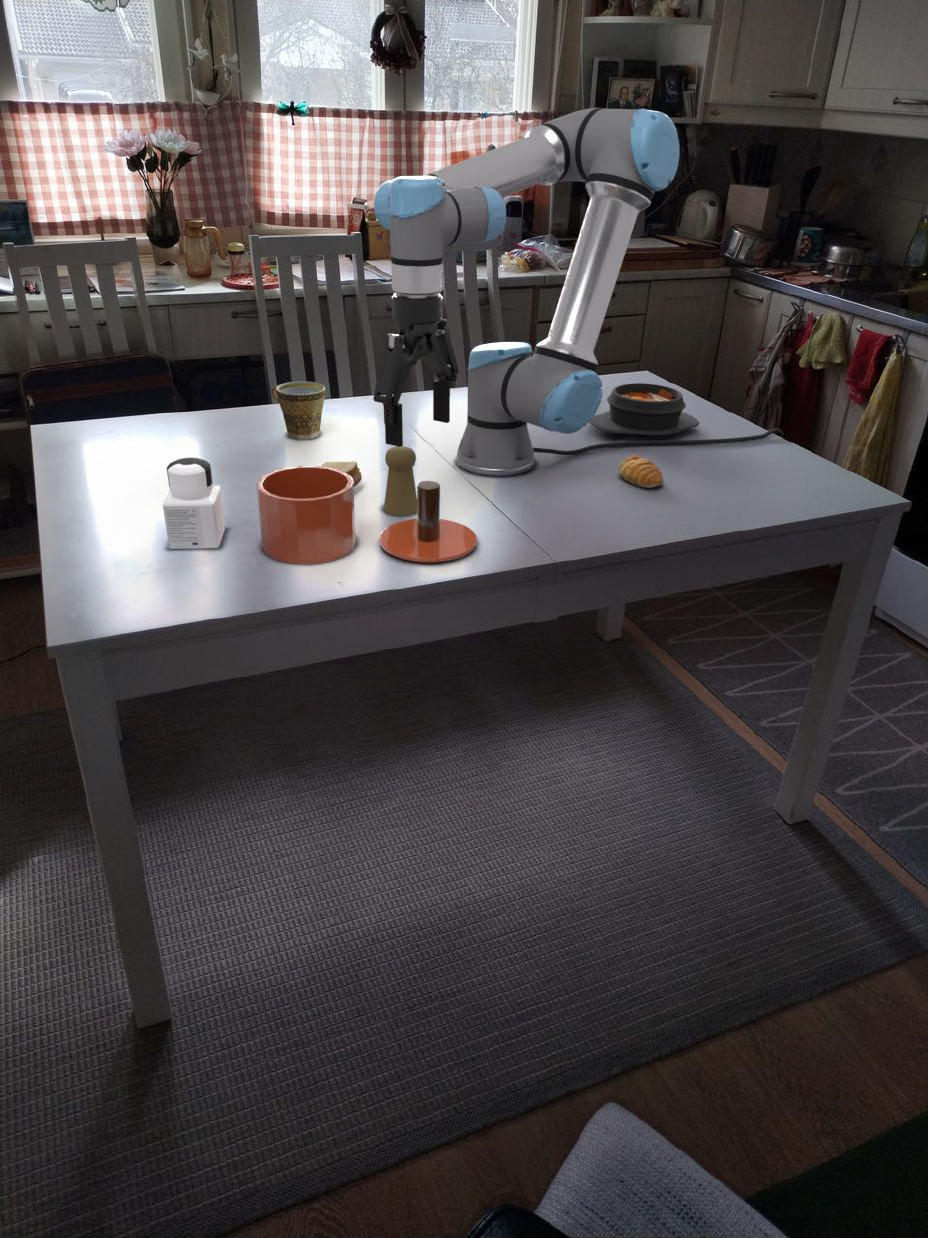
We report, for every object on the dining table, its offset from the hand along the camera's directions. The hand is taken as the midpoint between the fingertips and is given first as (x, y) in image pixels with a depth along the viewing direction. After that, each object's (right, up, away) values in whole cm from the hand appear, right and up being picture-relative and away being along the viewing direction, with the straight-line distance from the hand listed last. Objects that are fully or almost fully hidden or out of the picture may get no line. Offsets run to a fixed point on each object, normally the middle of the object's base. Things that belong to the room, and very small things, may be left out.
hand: (418, 432), depth 146 cm
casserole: (+47, +12, +57) cm, 74 cm away
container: (-36, -17, +2) cm, 39 cm away
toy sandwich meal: (-18, -6, +22) cm, 30 cm away
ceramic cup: (-28, +10, +49) cm, 57 cm away
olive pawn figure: (-4, -10, +15) cm, 19 cm away
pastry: (+41, -3, +30) cm, 51 cm away
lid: (+1, -17, +2) cm, 17 cm away
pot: (-18, -18, +1) cm, 25 cm away
